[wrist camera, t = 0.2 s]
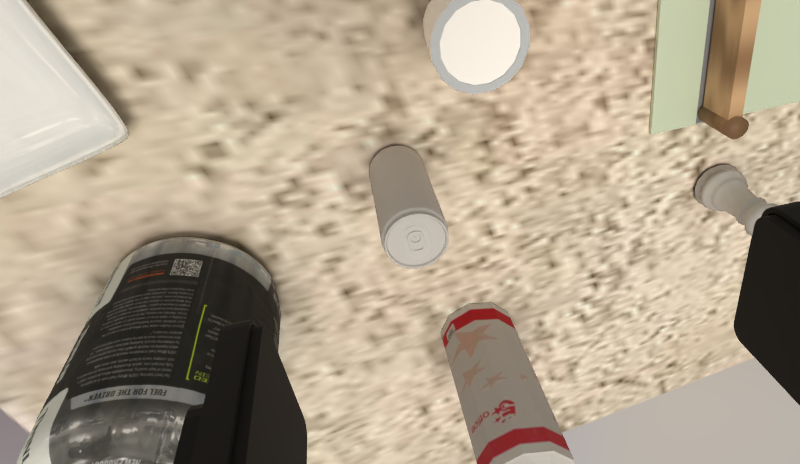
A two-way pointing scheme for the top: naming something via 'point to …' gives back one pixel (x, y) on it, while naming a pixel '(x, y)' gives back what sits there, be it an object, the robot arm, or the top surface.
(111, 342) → the supplement tub
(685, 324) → the top surface
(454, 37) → the white short cylinder
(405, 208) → the beverage can
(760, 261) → the robot arm
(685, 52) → the board
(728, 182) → the rook chess piece
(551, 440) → the spray bottle
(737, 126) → the bar
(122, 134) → the square plate
